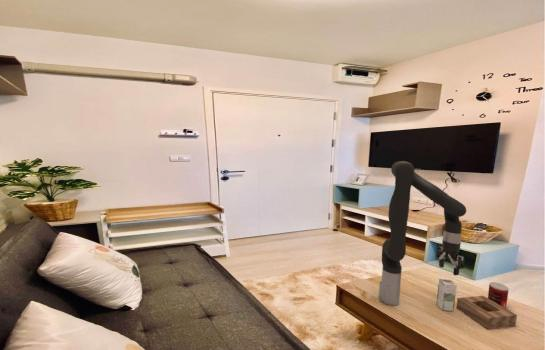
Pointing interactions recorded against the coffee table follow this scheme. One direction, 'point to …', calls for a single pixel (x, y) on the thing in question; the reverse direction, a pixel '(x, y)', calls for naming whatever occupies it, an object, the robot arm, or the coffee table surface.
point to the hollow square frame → (486, 312)
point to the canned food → (498, 293)
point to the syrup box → (446, 294)
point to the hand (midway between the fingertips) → (448, 271)
